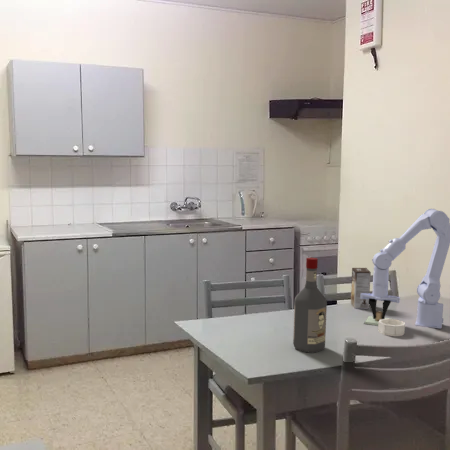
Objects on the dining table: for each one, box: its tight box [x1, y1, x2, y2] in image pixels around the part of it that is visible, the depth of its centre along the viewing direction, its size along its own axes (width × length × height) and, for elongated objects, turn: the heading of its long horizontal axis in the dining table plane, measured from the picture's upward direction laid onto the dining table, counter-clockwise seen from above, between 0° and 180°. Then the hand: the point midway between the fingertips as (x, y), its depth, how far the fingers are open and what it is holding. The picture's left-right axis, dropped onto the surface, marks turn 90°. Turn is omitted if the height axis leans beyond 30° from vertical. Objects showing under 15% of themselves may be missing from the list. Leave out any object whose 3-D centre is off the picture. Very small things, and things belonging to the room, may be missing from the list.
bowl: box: [377, 318, 406, 337], centre depth 206 cm, size 9×9×4 cm
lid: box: [364, 310, 391, 326], centre depth 219 cm, size 9×9×4 cm
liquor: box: [292, 257, 328, 353], centre depth 187 cm, size 9×9×30 cm
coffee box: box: [350, 267, 372, 310], centre depth 242 cm, size 9×6×16 cm
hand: (378, 318), depth 219 cm, fingers closed on lid, 3 cm apart
